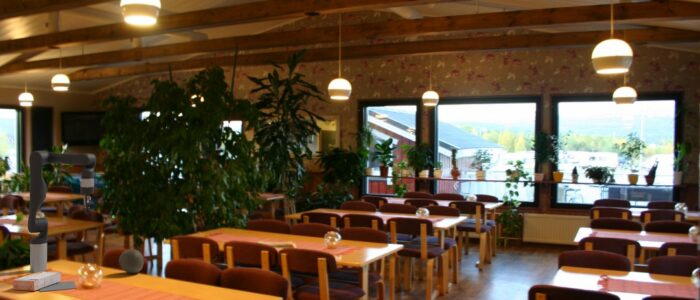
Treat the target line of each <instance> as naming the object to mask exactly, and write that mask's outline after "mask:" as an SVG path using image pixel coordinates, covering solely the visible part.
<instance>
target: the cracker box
mask: <svg viewBox="0 0 700 300" xmlns="http://www.w3.org/2000/svg"><path fill="white" fill-rule="evenodd" d="M57 282H62V271H47V270H46V271H40V272H33V273H31V274H28V275H25V276H23V277H19V278H15V279H13V280H12V283H13V284H12V285H13V287H12V288H13V290H14V291H28V292H29V291H32V292H33V291H38V290H40V289H41V288H43V287H46V286H49V285H52V284H55V283H57Z"/></svg>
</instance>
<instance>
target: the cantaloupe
mask: <svg viewBox="0 0 700 300" xmlns="http://www.w3.org/2000/svg"><path fill="white" fill-rule="evenodd" d="M118 263H119V266H120V267H121V269H122V270H123V271H124V272H125V273H128V274H136V273H139V272H140V271H141V270H142V269H143V267H144V255H143V254H142V252H140V251H139V250H138V249H133V248H132V249H128V250H127V249H126V250H124V251H122V253H121V255H119V258H118Z"/></svg>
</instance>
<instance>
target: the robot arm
mask: <svg viewBox="0 0 700 300" xmlns="http://www.w3.org/2000/svg"><path fill="white" fill-rule="evenodd" d="M28 159H29V160H28V162H29V164H28V165H29V173H30V174H29V179H30V180H29V207H28V217H27V230H28V231H27V232H29V233H30V234H38V235H36V236H35V237H32V238H31V239H30V242H29V243H30V245H29V247H30V250H29V251H30V255H29V257H30V259H29V261H30V262H29V263H30V264H29V271H30V272H31V273H37V272H40V271H47V269H48V238H49V237H48V236H49V220H48V218H47V217H37V215H38V211H39V209H40V207H41V206H42V205H43V203H44V202H45V200H46V198H47V190H48V189H47V183H46V182H45V180H44V177H43V172H42V171H43V170H42V169H43V166H45V165H50V164H62V165H78V166H84V168H83V169H82V170H81V173H80V176H81V178H80V179H81V180H80V195H84V196H83V206H84V214H85V215H89V214H90V207H91V200H92V196H90V195H93V194H94V193H95V180H94V179H95V178H94V177H95V173H94V172H95V168H96V164H97V157H96V155H95V154H93V153H76V152H74V153H73V152H71V153H70V152H64V153H63V152H60V153H59V152H51V151H46V150H35V151H31V153H30V155H29V158H28Z"/></svg>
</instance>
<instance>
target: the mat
mask: <svg viewBox="0 0 700 300" xmlns="http://www.w3.org/2000/svg"><path fill="white" fill-rule="evenodd" d="M76 289H77V287H76V282H75V280H67V281H60V282H57V283H55V284H52V285H49V286H46V287H43V288H41V289H39V293H44V292H45V293H46V292H55V291H56V292H57V291H66V290H76Z"/></svg>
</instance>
